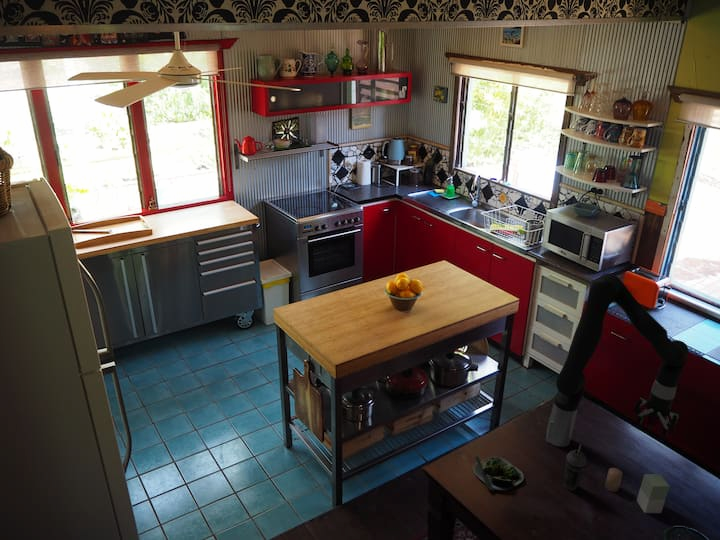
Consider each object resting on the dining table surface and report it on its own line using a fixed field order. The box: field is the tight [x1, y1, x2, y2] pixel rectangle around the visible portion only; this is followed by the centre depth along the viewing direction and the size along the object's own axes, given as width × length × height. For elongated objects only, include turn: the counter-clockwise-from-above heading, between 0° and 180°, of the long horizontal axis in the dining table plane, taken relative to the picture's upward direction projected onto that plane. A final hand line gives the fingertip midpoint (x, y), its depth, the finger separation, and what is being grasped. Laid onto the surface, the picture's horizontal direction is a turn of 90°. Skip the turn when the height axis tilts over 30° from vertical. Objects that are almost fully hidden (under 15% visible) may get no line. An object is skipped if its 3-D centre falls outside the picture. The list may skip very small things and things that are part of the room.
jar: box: [604, 467, 623, 493], centre depth 222 cm, size 5×5×7 cm
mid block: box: [639, 473, 671, 501], centre depth 211 cm, size 6×6×6 cm
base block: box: [636, 487, 666, 514], centre depth 214 cm, size 6×6×6 cm
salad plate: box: [473, 455, 525, 493], centre depth 225 cm, size 19×18×5 cm
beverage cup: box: [563, 443, 587, 492], centre depth 218 cm, size 7×7×20 cm
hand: (651, 429), depth 221 cm, fingers open, 8 cm apart
